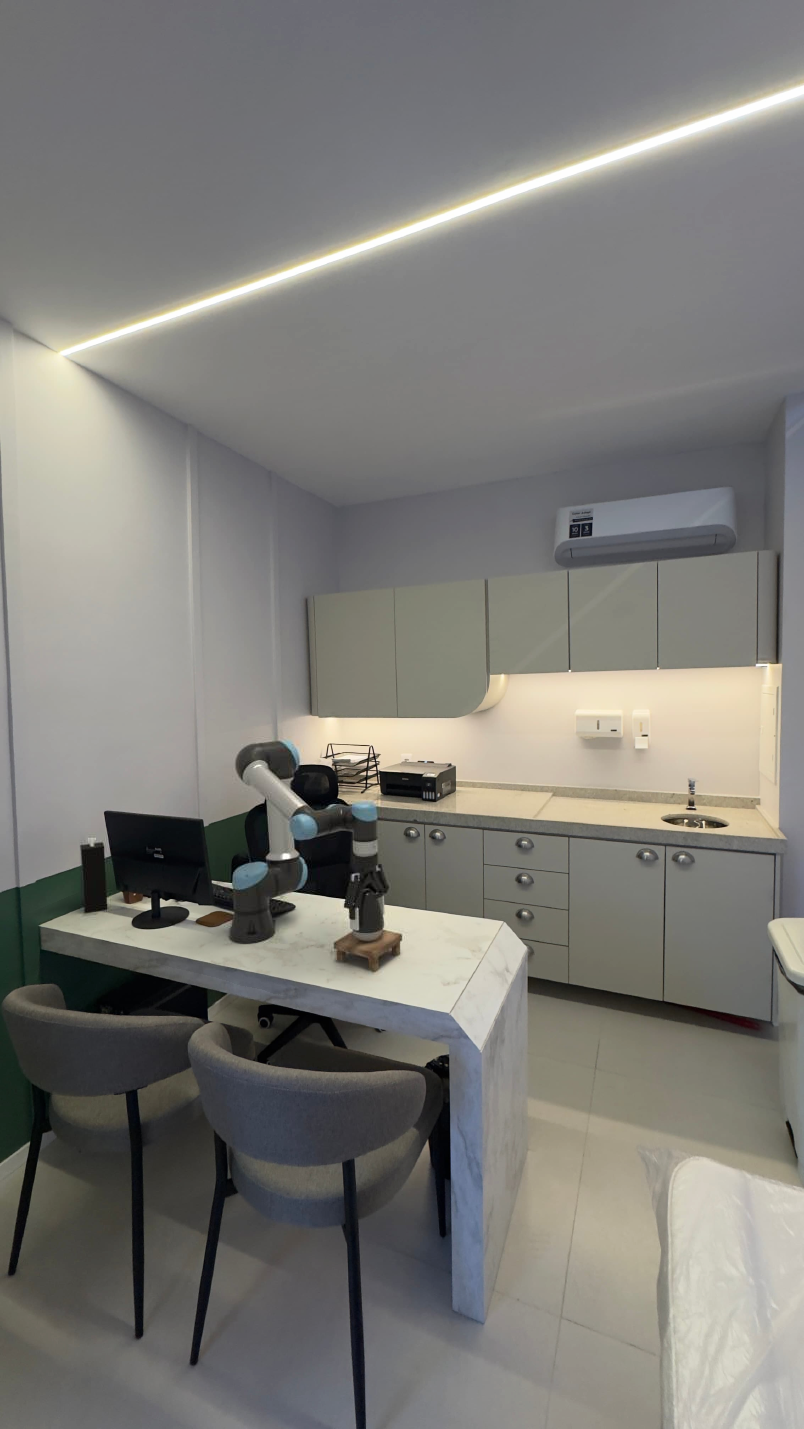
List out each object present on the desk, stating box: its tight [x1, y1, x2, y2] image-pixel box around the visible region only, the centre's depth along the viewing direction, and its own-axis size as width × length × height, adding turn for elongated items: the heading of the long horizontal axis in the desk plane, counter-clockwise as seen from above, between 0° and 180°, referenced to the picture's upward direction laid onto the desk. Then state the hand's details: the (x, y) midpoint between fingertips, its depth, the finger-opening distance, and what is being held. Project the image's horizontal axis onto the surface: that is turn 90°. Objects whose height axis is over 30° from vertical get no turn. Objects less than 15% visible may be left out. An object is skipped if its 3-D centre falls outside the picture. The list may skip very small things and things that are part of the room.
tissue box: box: [79, 837, 108, 914], centre depth 235 cm, size 8×8×28 cm
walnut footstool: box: [333, 929, 403, 972], centre depth 186 cm, size 15×15×6 cm
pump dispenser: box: [351, 888, 385, 941], centre depth 186 cm, size 10×10×15 cm
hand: (367, 921), depth 186 cm, fingers open, 13 cm apart
